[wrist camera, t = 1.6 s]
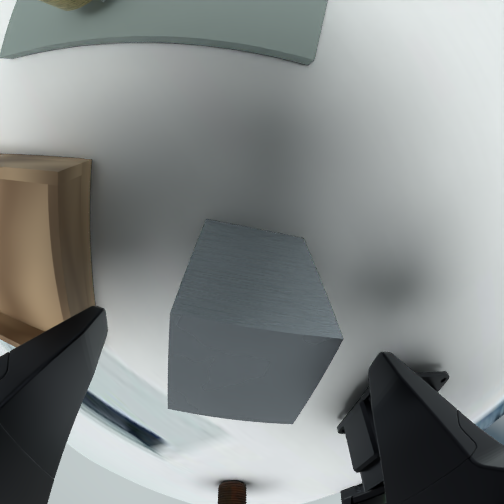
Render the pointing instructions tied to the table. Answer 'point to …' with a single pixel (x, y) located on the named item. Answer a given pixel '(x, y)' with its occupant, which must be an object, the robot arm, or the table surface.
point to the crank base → (171, 25)
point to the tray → (43, 243)
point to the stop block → (249, 327)
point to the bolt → (232, 493)
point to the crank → (67, 3)
